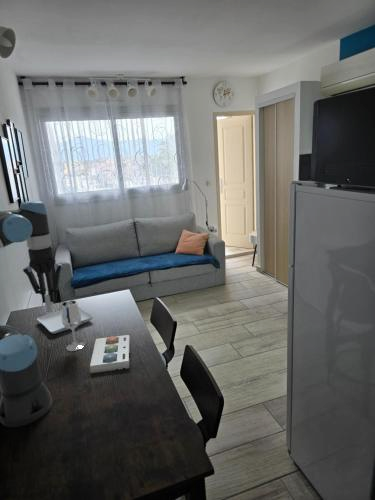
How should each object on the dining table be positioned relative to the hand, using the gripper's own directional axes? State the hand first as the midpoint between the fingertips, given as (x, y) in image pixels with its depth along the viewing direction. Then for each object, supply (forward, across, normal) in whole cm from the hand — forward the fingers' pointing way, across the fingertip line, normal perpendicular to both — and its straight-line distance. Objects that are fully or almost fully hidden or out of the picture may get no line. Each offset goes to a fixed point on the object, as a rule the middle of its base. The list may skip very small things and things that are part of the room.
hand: (50, 310), depth 117 cm
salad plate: (+25, +6, -41) cm, 48 cm away
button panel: (+24, -19, -5) cm, 31 cm away
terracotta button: (+23, -19, -12) cm, 32 cm away
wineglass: (+25, -3, -16) cm, 30 cm away
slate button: (+23, -19, +2) cm, 30 cm away
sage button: (+23, -19, -5) cm, 30 cm away
